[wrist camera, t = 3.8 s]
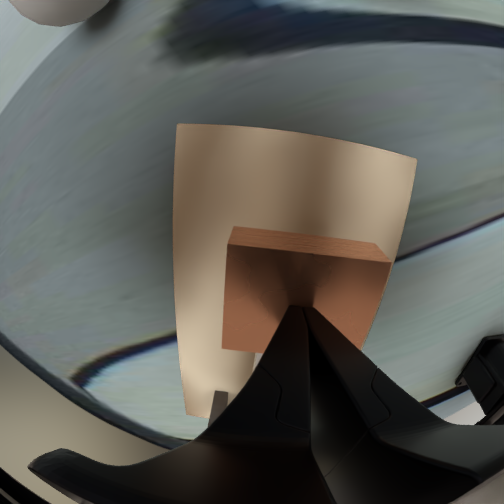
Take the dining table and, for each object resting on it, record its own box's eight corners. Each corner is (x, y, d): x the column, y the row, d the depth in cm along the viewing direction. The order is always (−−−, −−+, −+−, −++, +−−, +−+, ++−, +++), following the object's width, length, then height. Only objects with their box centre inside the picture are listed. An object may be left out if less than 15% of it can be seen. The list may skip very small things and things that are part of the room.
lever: (369, 237, 10) (394, 265, 7) (289, 448, 16) (289, 474, 14) (235, 220, 10) (226, 246, 7) (222, 443, 16) (218, 469, 14)
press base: (404, 156, 13) (496, 179, 6) (320, 413, 21) (329, 482, 15) (185, 125, 13) (111, 115, 6) (189, 401, 22) (172, 471, 15)
